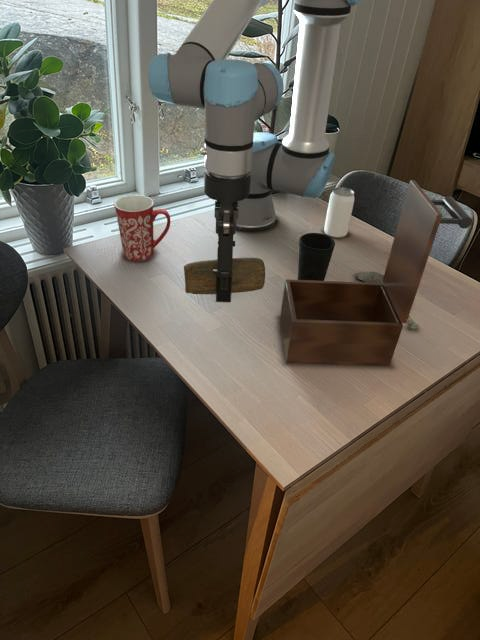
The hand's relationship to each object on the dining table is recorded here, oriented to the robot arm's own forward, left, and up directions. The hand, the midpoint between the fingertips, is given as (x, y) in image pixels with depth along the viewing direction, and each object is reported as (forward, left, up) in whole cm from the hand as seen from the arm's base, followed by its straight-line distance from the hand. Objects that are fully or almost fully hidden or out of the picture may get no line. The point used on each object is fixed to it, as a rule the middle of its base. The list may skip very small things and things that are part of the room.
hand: (223, 288), depth 90 cm
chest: (+3, +22, -9) cm, 24 cm away
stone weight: (0, 0, -1) cm, 1 cm away
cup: (-16, +20, -10) cm, 27 cm away
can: (-44, +31, -10) cm, 54 cm away
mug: (-28, -19, -10) cm, 35 cm away
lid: (+3, +31, +11) cm, 33 cm away
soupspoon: (-12, +37, -10) cm, 40 cm away
